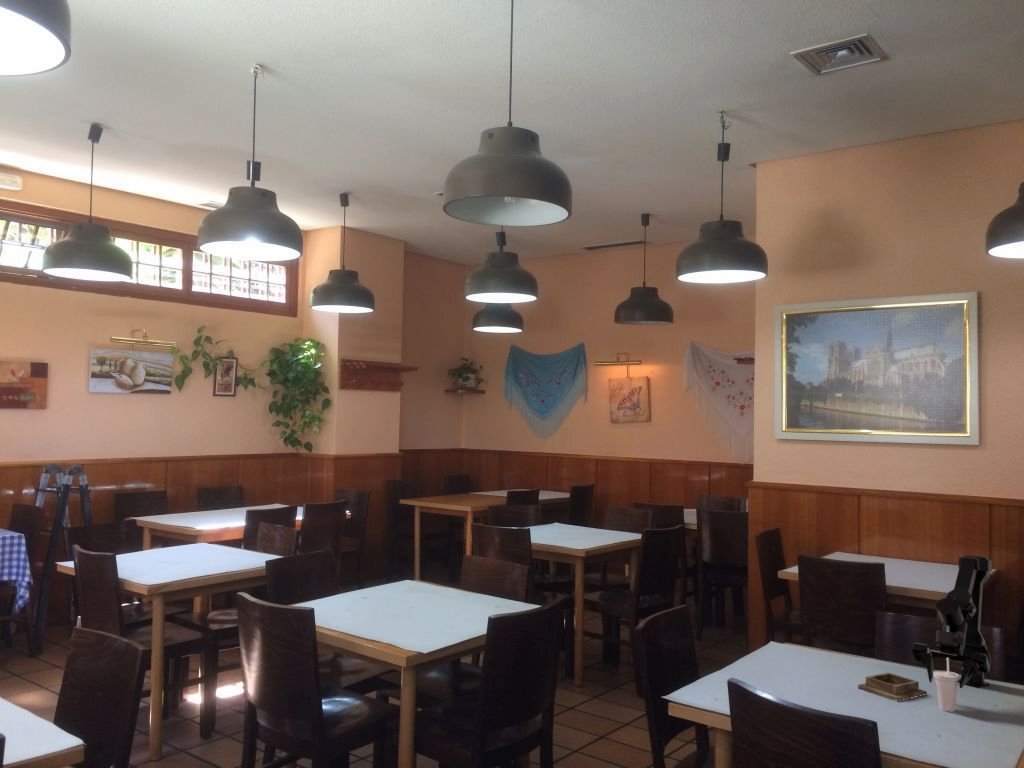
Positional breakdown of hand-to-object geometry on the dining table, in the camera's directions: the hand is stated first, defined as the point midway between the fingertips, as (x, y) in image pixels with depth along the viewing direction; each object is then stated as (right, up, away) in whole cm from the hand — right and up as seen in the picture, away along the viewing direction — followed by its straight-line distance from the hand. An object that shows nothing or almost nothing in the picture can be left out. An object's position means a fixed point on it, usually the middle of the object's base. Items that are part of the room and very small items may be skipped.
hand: (945, 684), depth 214 cm
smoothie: (+1, -7, +1) cm, 7 cm away
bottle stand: (-7, -8, +16) cm, 19 cm away
